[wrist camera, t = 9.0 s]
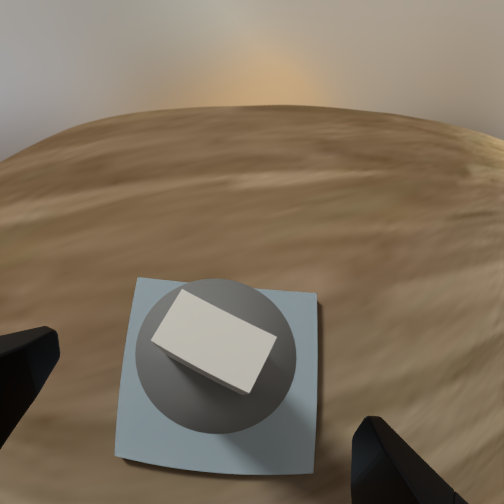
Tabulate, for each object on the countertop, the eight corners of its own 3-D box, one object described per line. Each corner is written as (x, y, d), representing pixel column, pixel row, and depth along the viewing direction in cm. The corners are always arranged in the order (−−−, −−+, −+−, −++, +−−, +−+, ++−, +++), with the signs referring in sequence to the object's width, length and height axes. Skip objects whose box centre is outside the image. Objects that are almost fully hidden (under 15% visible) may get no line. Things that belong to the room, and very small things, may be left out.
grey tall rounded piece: (236, 429, 16) (263, 476, 5) (166, 393, 16) (78, 372, 6) (269, 363, 18) (344, 297, 7) (202, 329, 18) (178, 218, 8)
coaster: (309, 470, 15) (313, 473, 14) (118, 454, 15) (114, 455, 14) (313, 297, 21) (316, 293, 20) (140, 281, 20) (137, 277, 19)
